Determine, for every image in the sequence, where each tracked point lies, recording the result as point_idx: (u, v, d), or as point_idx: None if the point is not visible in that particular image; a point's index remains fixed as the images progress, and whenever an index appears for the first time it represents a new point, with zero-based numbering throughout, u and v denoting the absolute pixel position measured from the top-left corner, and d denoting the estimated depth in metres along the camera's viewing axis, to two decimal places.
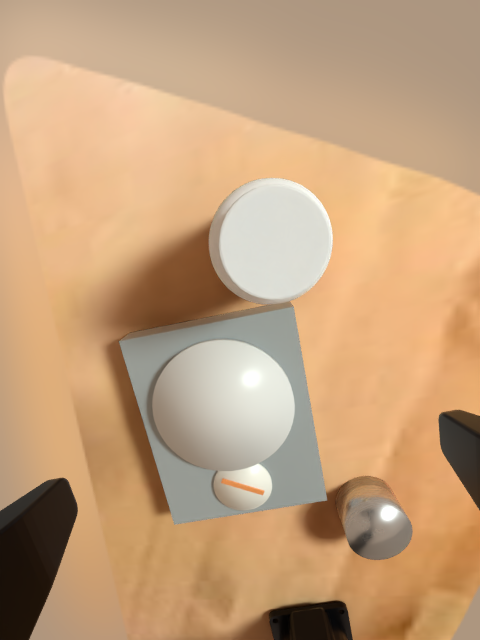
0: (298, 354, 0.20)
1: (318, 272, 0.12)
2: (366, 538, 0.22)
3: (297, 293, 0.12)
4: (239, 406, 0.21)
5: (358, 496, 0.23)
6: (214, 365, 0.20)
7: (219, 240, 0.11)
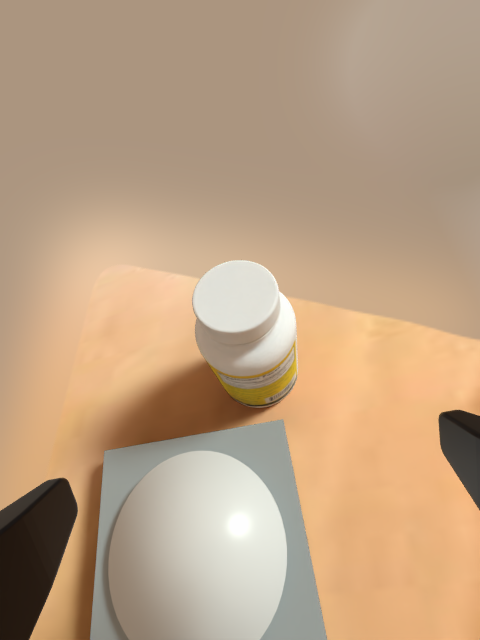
0: (290, 476, 0.18)
1: (268, 311, 0.14)
2: None
3: (251, 327, 0.14)
4: (215, 544, 0.16)
5: None
6: (193, 481, 0.18)
7: None
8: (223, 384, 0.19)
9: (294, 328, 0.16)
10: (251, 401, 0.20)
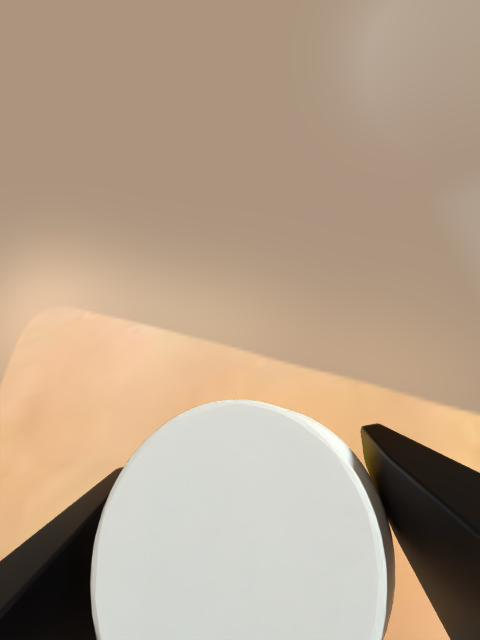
0: None
1: None
2: None
3: None
4: None
5: None
6: None
7: (100, 519, 0.05)
8: None
9: (394, 571, 0.06)
10: None
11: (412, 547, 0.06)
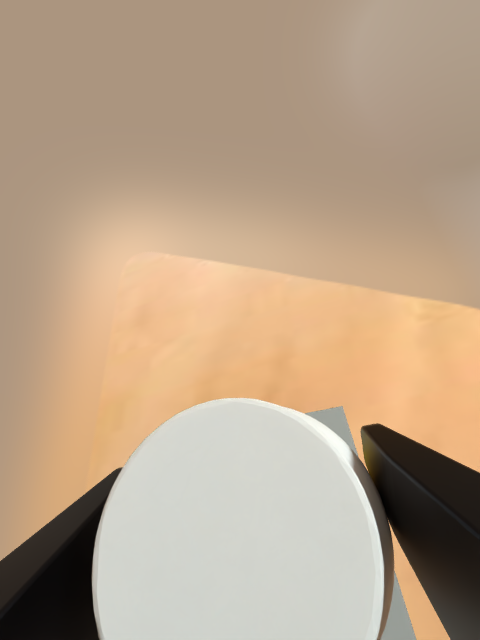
0: None
1: None
2: None
3: None
4: None
5: None
6: None
7: (101, 516, 0.05)
8: None
9: (393, 568, 0.06)
10: None
11: (412, 547, 0.06)
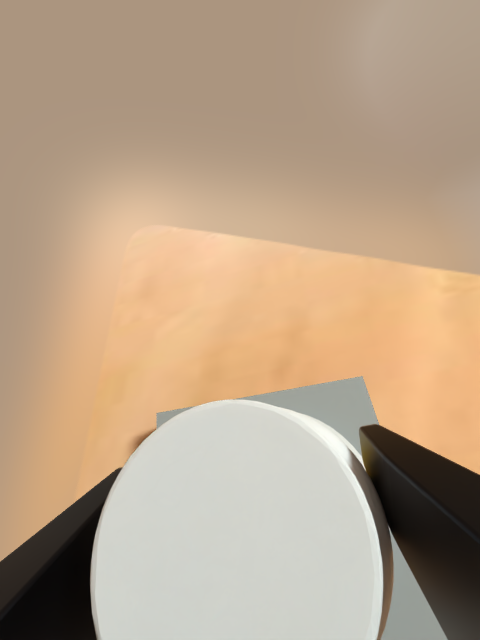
0: None
1: None
2: None
3: None
4: None
5: None
6: None
7: (100, 518, 0.05)
8: None
9: (393, 570, 0.06)
10: None
11: (409, 547, 0.06)
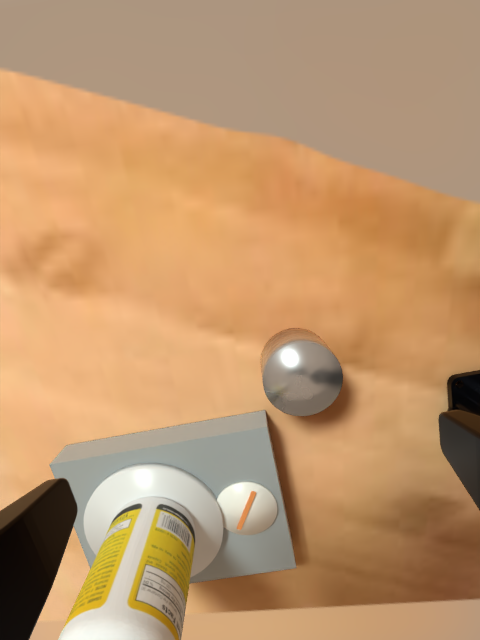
0: (96, 459, 0.21)
1: None
2: (309, 394, 0.18)
3: None
4: None
5: None
6: None
7: None
8: None
9: (115, 623, 0.13)
10: (192, 558, 0.19)
11: None
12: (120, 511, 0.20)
